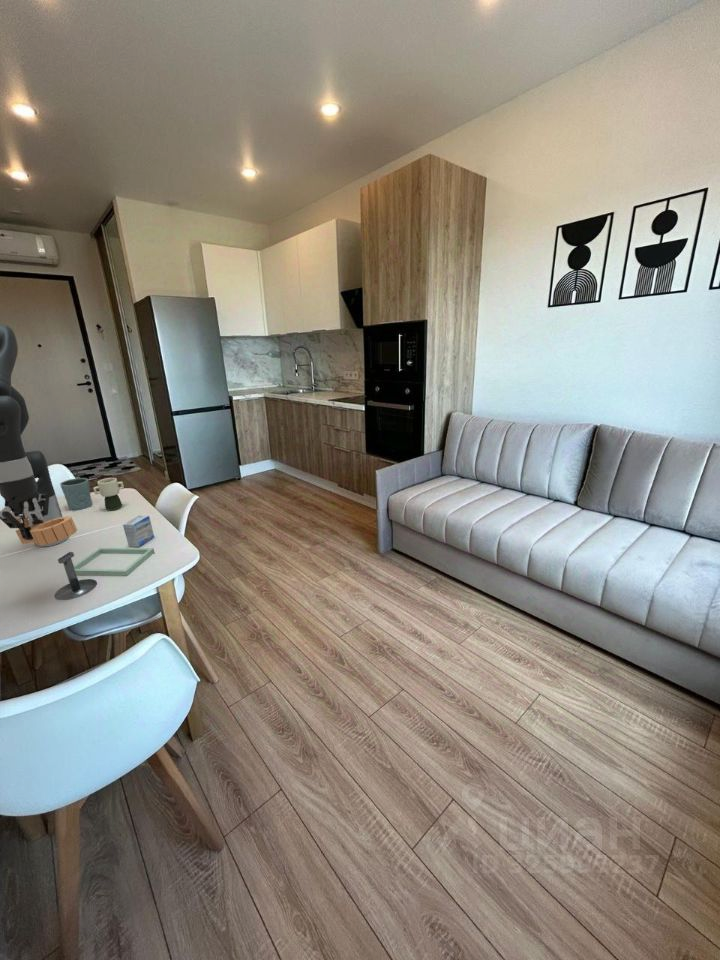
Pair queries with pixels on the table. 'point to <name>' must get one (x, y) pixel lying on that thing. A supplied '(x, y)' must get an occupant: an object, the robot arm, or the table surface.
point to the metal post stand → (73, 581)
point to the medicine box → (138, 531)
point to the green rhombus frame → (113, 572)
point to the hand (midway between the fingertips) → (35, 536)
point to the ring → (50, 531)
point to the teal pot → (77, 493)
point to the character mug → (110, 492)
